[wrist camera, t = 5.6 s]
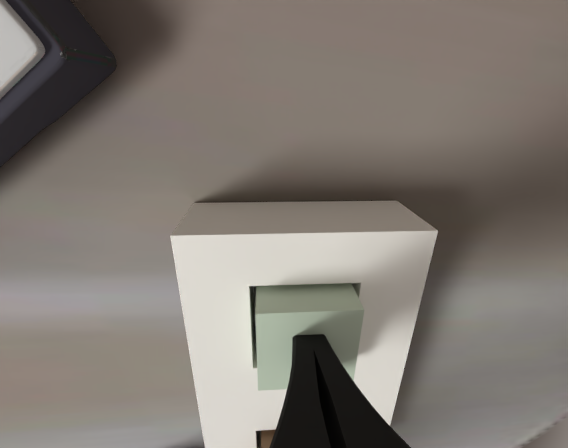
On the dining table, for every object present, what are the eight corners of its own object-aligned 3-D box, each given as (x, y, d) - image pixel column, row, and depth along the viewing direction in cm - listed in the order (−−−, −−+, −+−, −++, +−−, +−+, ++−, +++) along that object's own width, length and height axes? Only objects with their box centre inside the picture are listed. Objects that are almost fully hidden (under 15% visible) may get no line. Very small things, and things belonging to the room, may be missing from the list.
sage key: (335, 330, 16) (352, 385, 13) (259, 333, 16) (258, 390, 13) (342, 264, 15) (364, 310, 11) (257, 266, 14) (255, 313, 11)
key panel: (356, 430, 23) (373, 491, 20) (222, 439, 23) (214, 503, 19) (396, 200, 16) (438, 230, 12) (193, 202, 15) (170, 235, 11)
